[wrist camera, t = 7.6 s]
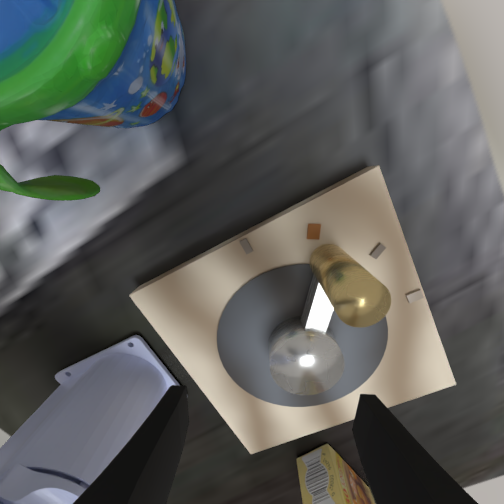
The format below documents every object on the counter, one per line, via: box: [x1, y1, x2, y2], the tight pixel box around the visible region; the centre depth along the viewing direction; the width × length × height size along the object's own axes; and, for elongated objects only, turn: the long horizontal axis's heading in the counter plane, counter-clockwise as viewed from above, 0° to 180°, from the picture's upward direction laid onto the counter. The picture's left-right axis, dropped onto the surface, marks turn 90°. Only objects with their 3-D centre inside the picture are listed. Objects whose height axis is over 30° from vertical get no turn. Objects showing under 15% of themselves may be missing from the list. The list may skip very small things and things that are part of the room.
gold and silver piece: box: [269, 244, 391, 395], centre depth 14 cm, size 11×5×6 cm, turn 170°
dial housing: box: [129, 166, 456, 454], centre depth 19 cm, size 19×19×2 cm
